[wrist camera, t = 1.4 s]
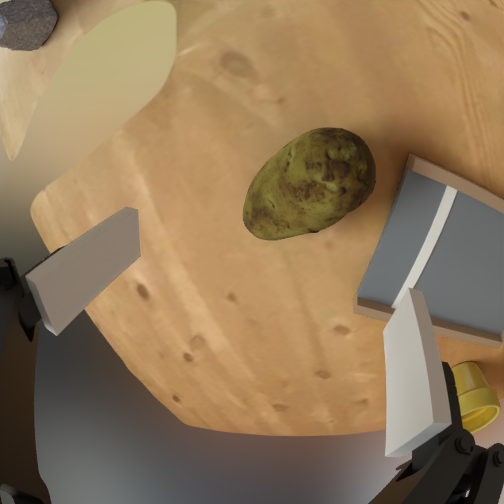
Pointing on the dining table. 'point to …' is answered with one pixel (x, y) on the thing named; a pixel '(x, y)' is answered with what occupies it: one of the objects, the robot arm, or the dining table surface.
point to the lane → (441, 255)
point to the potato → (309, 184)
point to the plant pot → (475, 397)
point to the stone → (26, 23)
